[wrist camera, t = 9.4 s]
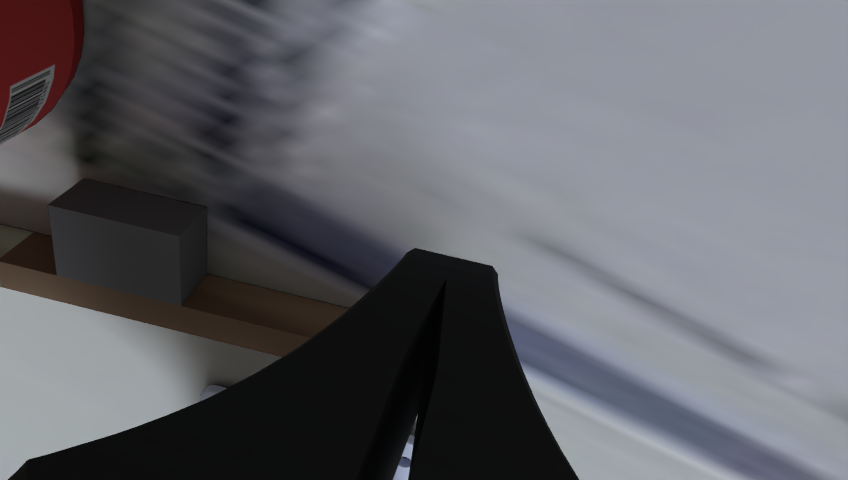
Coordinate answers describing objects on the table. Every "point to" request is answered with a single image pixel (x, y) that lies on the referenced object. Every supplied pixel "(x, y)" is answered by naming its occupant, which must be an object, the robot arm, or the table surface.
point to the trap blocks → (129, 241)
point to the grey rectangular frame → (199, 315)
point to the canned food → (36, 58)
